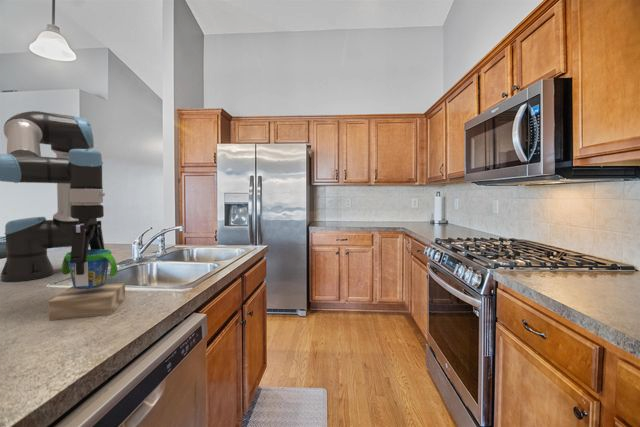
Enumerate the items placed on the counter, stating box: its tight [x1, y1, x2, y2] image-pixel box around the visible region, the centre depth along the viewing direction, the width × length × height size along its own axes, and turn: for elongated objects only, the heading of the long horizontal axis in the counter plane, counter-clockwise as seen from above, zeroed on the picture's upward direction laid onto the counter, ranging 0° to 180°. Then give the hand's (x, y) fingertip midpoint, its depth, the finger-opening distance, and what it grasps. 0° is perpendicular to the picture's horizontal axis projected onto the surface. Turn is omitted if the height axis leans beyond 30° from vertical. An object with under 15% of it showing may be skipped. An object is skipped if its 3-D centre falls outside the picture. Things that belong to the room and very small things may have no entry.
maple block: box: [48, 282, 126, 321], centre depth 90 cm, size 14×14×5 cm
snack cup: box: [61, 248, 118, 289], centre depth 89 cm, size 16×10×10 cm
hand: (89, 280), depth 89 cm, fingers closed on snack cup, 10 cm apart
